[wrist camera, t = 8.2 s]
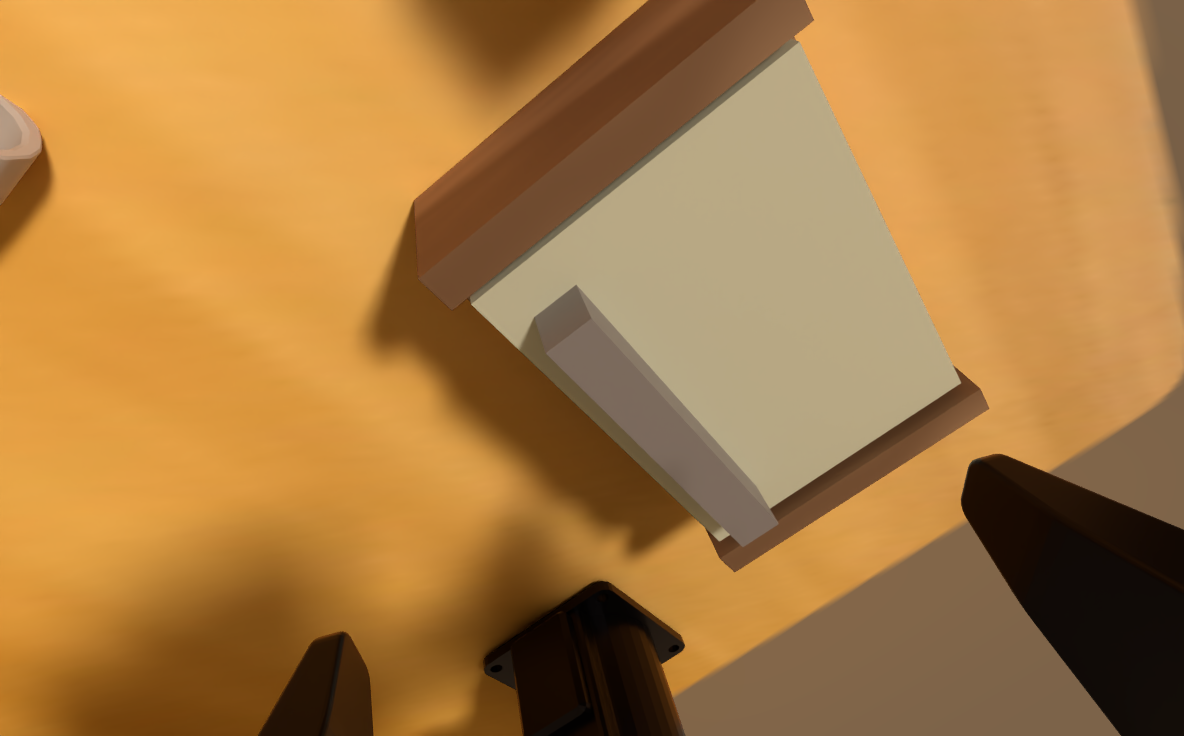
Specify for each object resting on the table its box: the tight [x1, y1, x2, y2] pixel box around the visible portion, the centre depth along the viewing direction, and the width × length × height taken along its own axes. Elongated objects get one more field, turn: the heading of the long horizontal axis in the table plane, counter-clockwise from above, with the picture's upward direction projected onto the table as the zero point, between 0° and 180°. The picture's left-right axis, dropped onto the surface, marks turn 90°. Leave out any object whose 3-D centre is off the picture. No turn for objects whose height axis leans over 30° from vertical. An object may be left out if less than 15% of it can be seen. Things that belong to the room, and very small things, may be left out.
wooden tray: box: [414, 0, 989, 572], centre depth 19 cm, size 14×9×4 cm, turn 36°
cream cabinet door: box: [470, 39, 961, 547], centre depth 17 cm, size 11×8×2 cm
